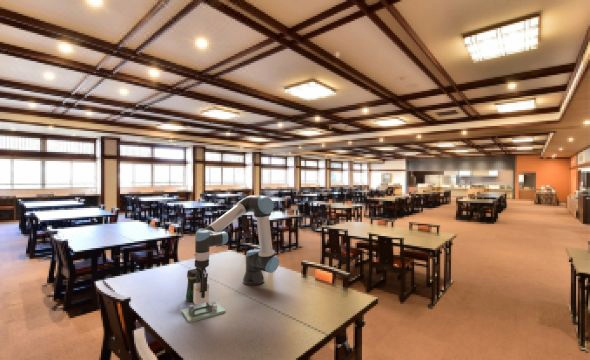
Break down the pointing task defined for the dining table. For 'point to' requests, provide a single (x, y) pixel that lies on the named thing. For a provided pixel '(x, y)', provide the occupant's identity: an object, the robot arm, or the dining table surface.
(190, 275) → the coffee jar
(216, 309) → the board
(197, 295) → the plug
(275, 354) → the dining table surface
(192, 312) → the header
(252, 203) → the robot arm
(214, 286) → the dining table surface
